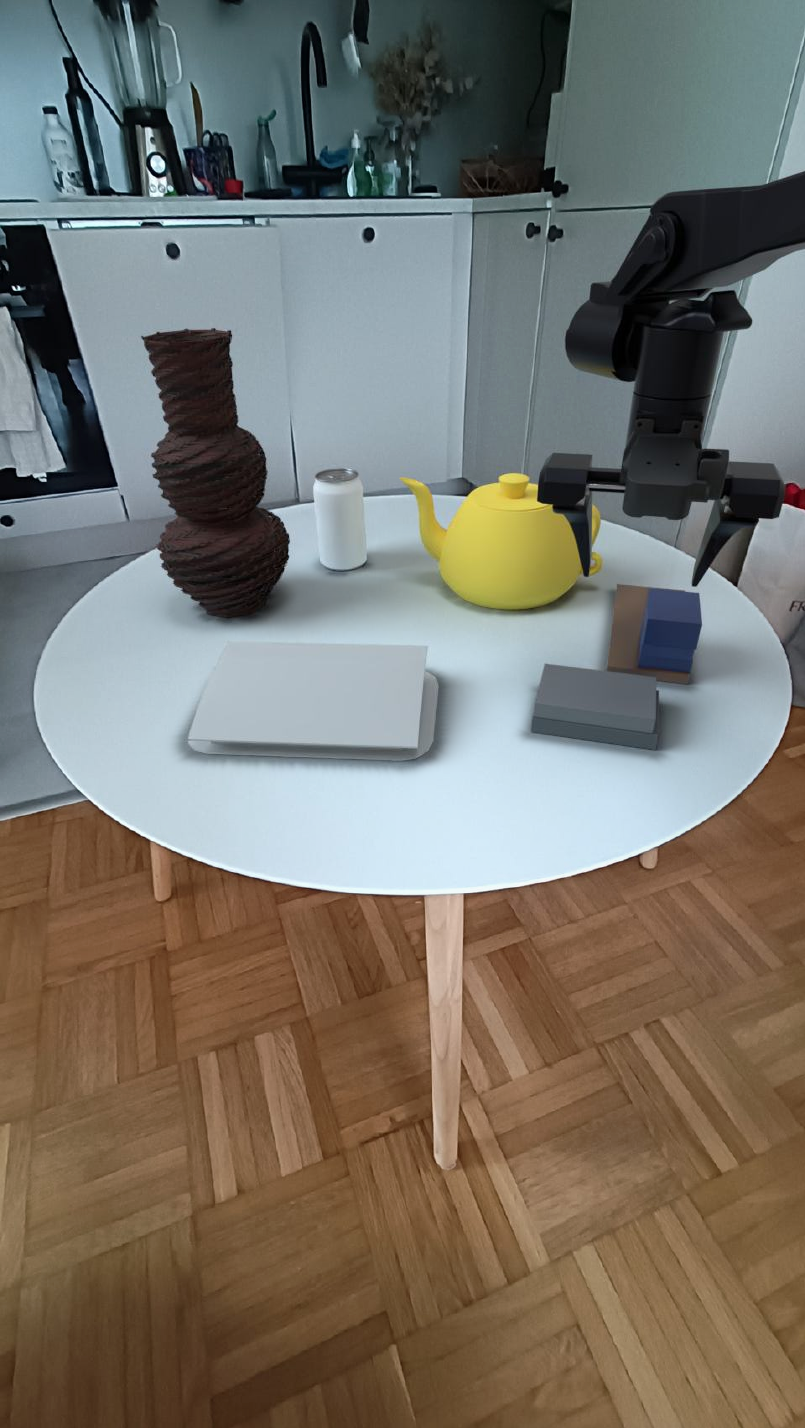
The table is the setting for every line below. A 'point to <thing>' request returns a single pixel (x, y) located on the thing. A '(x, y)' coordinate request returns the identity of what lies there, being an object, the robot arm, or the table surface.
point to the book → (318, 702)
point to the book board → (633, 635)
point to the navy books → (664, 656)
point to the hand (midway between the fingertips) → (639, 580)
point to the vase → (212, 479)
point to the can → (340, 519)
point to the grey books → (597, 706)
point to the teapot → (504, 545)
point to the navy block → (672, 618)
